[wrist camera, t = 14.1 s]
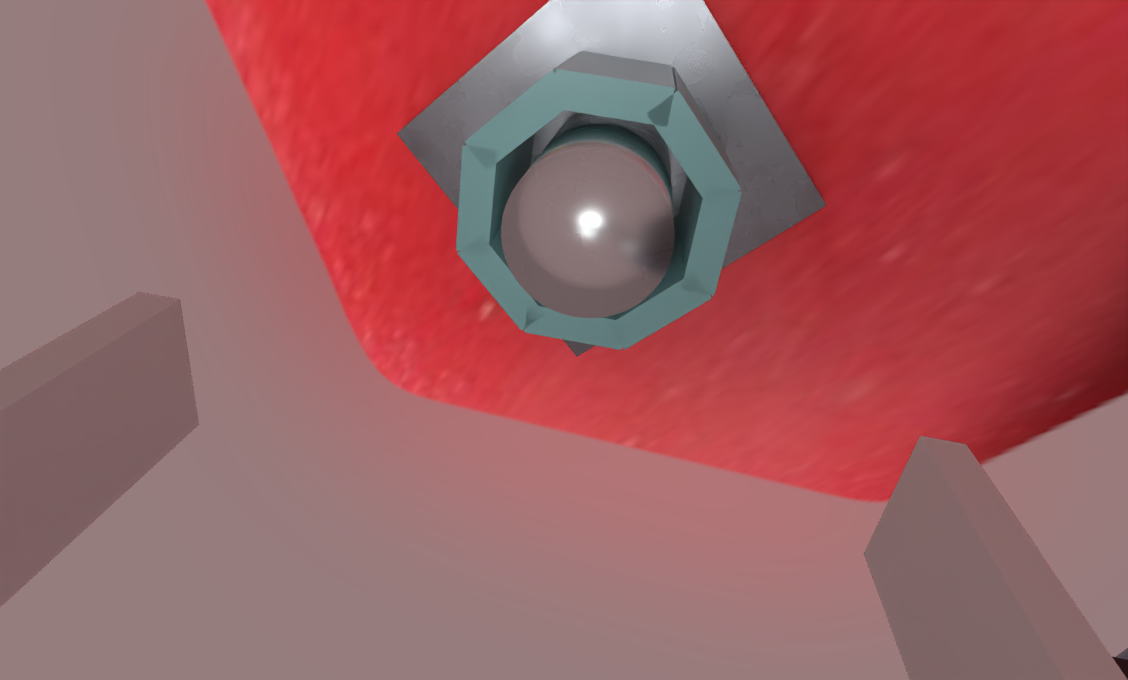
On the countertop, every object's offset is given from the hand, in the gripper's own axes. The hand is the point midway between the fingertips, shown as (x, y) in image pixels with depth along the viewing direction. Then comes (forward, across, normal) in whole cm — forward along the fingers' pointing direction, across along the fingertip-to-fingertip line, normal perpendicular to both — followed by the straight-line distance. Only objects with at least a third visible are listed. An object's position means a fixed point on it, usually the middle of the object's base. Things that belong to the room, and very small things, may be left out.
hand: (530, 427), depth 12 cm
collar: (+21, 0, 0) cm, 21 cm away
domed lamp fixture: (+22, 0, 0) cm, 22 cm away
